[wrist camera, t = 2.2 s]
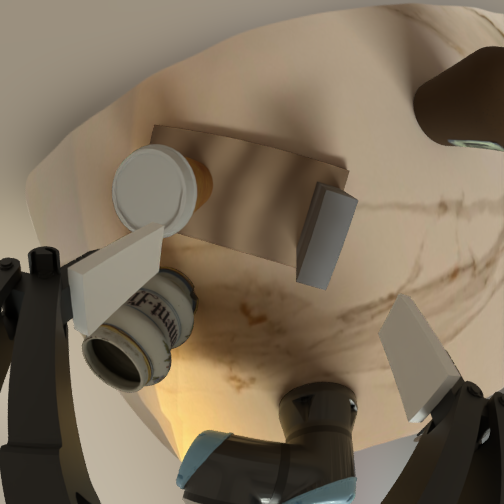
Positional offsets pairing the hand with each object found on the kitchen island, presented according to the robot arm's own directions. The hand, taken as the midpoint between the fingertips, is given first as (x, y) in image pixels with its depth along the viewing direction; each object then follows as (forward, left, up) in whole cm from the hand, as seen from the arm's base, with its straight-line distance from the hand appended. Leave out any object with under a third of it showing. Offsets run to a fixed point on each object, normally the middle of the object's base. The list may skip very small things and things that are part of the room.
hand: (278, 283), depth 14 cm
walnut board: (+7, 0, -22) cm, 23 cm away
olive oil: (-17, -20, -23) cm, 35 cm away
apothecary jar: (+14, +18, -23) cm, 32 cm away
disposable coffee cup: (+13, 0, -22) cm, 26 cm away
